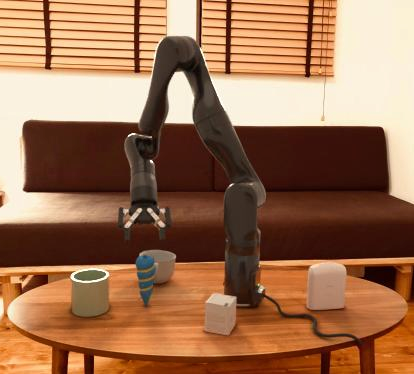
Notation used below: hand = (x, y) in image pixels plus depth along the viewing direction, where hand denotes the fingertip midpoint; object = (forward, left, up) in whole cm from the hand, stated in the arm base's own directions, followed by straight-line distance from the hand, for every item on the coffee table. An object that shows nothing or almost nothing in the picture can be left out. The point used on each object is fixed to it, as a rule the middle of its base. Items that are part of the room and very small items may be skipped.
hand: (145, 242), depth 122 cm
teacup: (+3, -12, -16) cm, 21 cm away
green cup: (+10, +11, -16) cm, 22 cm away
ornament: (-2, +4, -16) cm, 17 cm away
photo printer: (-46, -14, -16) cm, 51 cm away
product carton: (-24, +8, -16) cm, 30 cm away
